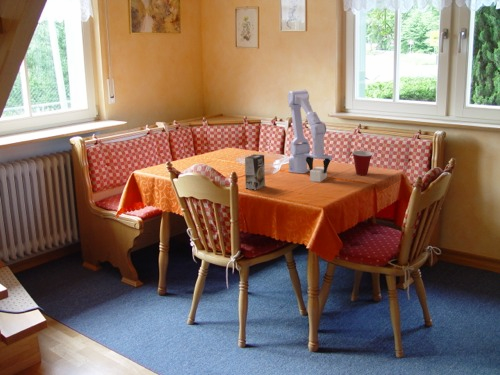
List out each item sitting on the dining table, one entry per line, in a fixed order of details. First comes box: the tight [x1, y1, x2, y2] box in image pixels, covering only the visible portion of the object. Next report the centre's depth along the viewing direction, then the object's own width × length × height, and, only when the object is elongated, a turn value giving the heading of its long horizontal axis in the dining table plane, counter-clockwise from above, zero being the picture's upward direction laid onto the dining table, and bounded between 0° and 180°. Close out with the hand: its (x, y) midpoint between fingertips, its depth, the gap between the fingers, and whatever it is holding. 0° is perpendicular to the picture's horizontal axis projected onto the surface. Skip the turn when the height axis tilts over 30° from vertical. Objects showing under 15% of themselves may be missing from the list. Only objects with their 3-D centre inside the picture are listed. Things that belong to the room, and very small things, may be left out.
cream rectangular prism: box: [309, 166, 328, 183], centre depth 324 cm, size 6×10×5 cm, turn 153°
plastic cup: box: [351, 150, 374, 176], centre depth 330 cm, size 11×11×12 cm
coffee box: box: [244, 153, 266, 191], centre depth 311 cm, size 9×6×16 cm
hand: (318, 172), depth 323 cm, fingers open, 7 cm apart
